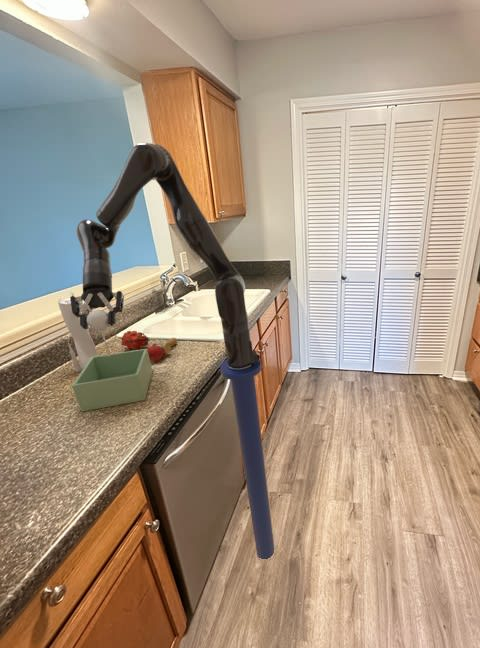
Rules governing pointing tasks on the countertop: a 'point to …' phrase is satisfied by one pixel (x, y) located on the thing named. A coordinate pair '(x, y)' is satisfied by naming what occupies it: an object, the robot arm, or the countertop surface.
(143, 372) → the bin
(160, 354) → the kendama
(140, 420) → the countertop surface
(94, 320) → the lollipop
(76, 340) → the skyscraper
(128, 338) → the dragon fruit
